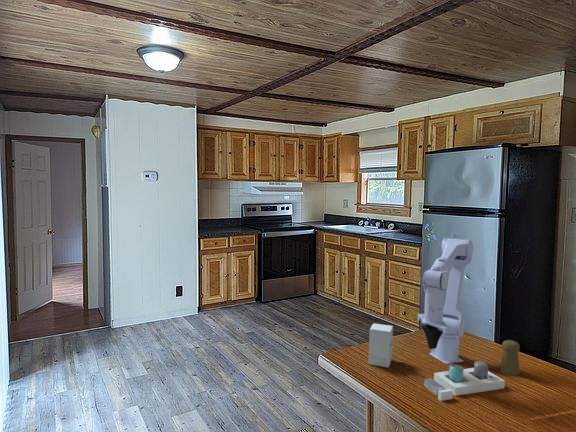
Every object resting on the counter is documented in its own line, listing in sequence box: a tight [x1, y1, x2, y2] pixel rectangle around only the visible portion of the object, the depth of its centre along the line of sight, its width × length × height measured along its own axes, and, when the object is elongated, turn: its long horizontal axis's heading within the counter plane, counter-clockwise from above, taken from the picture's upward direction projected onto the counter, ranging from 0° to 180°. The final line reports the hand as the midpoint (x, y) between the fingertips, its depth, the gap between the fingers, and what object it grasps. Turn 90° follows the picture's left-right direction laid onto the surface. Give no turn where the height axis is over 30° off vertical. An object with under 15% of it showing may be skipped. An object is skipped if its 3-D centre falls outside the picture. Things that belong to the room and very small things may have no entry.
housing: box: [433, 367, 506, 396], centre depth 128 cm, size 10×18×3 cm, turn 106°
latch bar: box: [423, 377, 445, 396], centre depth 124 cm, size 6×2×3 cm, turn 16°
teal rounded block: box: [448, 363, 465, 383], centre depth 127 cm, size 4×4×6 cm
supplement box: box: [368, 323, 394, 368], centre depth 145 cm, size 7×7×13 cm
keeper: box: [437, 389, 454, 403], centre depth 119 cm, size 1×4×3 cm, turn 106°
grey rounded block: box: [473, 360, 489, 380], centre depth 129 cm, size 4×4×6 cm
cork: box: [499, 339, 521, 377], centre depth 137 cm, size 6×6×11 cm
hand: (432, 347), depth 134 cm, fingers closed
